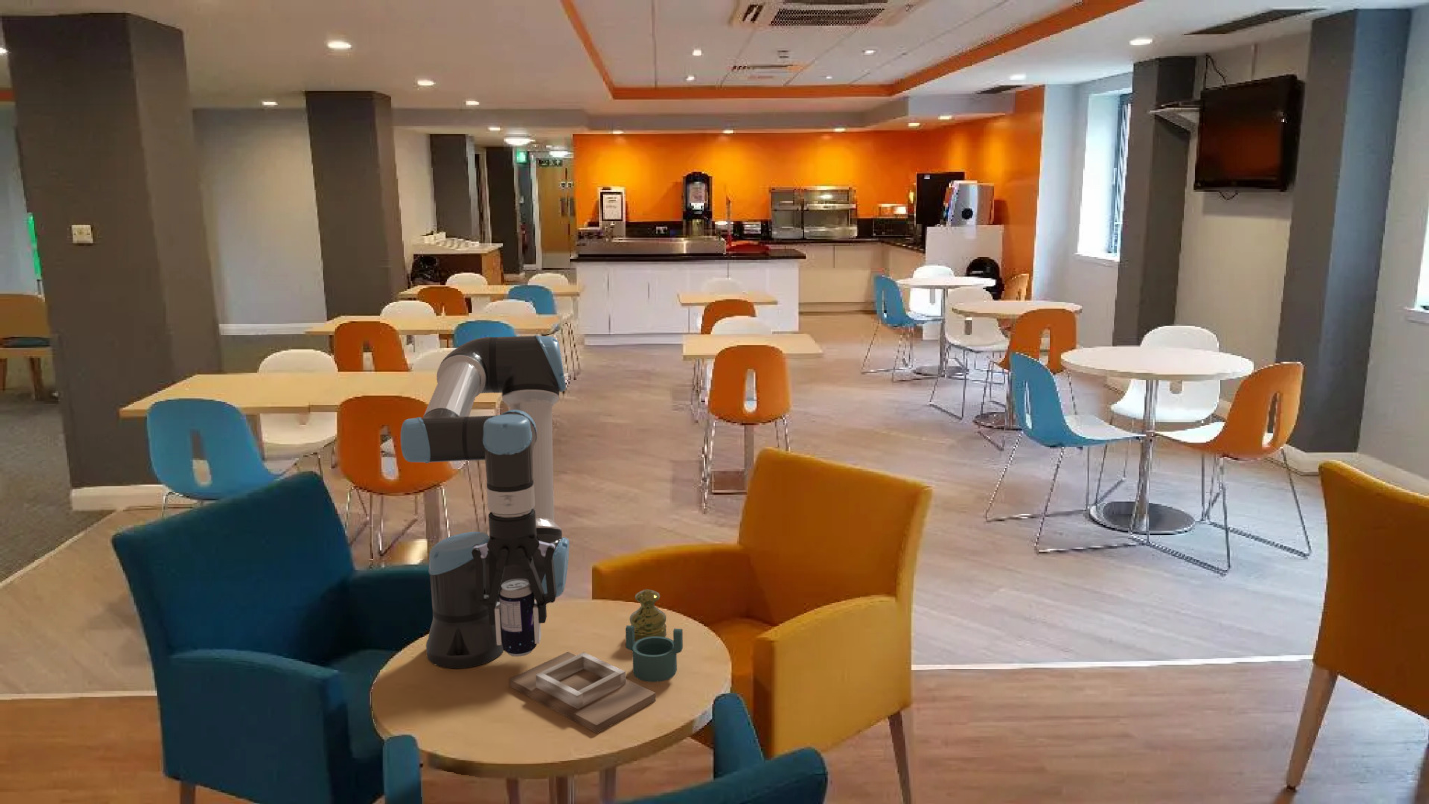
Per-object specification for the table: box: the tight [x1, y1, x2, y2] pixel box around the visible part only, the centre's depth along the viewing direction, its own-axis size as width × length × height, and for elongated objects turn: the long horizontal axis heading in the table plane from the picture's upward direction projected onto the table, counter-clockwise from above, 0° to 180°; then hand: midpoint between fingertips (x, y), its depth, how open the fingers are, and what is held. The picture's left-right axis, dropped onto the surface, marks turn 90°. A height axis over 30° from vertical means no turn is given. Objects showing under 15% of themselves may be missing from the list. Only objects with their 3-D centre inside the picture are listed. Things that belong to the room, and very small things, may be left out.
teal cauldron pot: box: [625, 625, 684, 683], centre depth 183 cm, size 9×9×9 cm
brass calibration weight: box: [629, 588, 667, 642], centre depth 197 cm, size 7×7×10 cm
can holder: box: [508, 651, 657, 734], centre depth 175 cm, size 24×14×4 cm, turn 49°
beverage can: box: [499, 579, 538, 658], centre depth 162 cm, size 6×6×12 cm
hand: (519, 640), depth 163 cm, fingers closed on beverage can, 6 cm apart
